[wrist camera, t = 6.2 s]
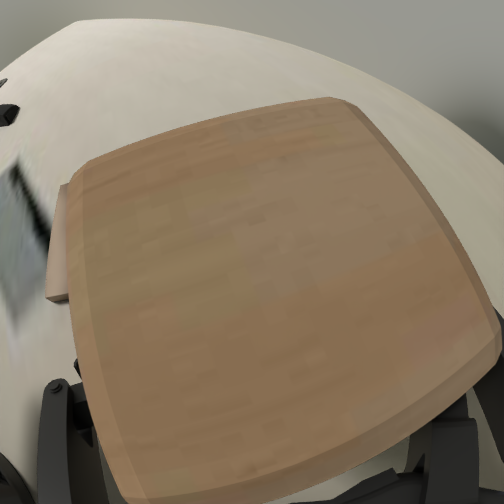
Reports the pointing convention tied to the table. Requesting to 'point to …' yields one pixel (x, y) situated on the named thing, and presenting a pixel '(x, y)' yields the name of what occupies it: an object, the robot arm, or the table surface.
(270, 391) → the wooden block
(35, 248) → the table surface
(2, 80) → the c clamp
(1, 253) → the table surface
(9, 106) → the black notched oval shell
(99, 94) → the table surface
